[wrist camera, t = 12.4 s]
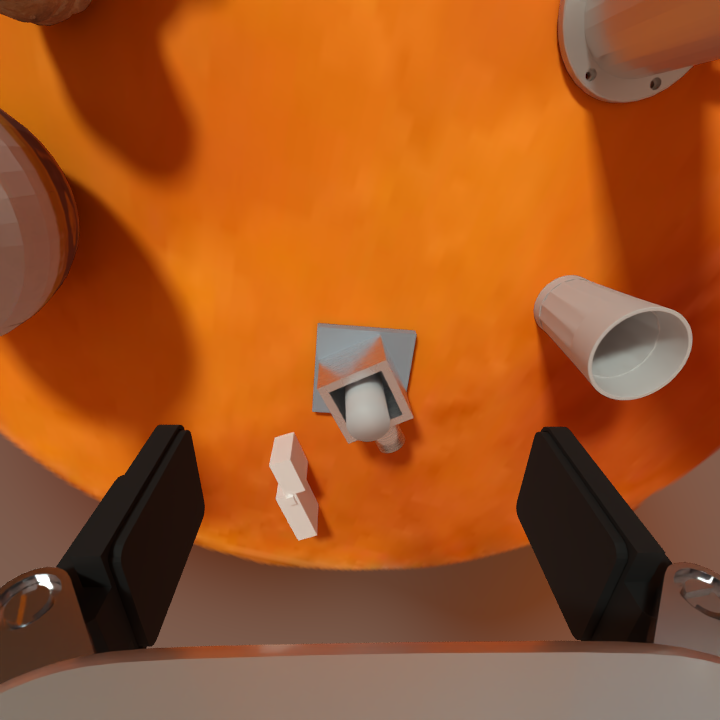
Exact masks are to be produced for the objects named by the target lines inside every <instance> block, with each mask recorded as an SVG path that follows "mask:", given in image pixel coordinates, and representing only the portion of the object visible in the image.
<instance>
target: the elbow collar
mask: <svg viewBox="0 0 720 720" xmlns="http://www.w3.org/2000/svg"><path fill="white" fill-rule="evenodd" d="M379 371H382V373H383V375H384V377H385V379H386V381H387V383H388V385H389V386H387V387H385V388H384V393H385V398H386V403H387V408H388V413H389V418H390V427H389V430H388V431H387V433H386V434H385V435H384V436H383V437H381V438H380V439H378V440H375V443H376V445H377V446H378V448H379V450H380V451H381V452H382V453H392V452H395V451H397V450H398V449H400V448H401V447H402V446H403V444H404V443H405V436H404V434H403V432H402V430H401V428H400V426H399V424H400V423H402V422H405V421H407V420H410V419H412V418H414V417H413V414H412V411H411V407H410V404H409V400H408V397H407V393H406V390H405V387H404V384H403V382H402V380H401V378H400V376H399V374H398V371H397V369H396V367H395V365H394V363H393V361H392V359H391V356H390V354H389V352H388V350H387V348H386V346H385V343H384V341H383V339H382V337H381V335H380V334H378V335H376V336H373V337H371V338H369V339H366V340H364V341H362V342H359V343H357V344H355V345H352V346H350V347H348V348H346V349H343V350H341V351H339V352H336V353H334V354H332V355H329V356H327V357H325V358H322V359H320V360H319V370H318V383H317V390H318V392H319V393H320V395H321V397H322V399H323V400H324V402H325V404H326V406H327V407H328V409H329V411H330V412H331V414H332V416H333V418H334V419H335V421H336V423H337V425H338V426H339V428H340V430H341V431H342V433H343V435H344V437H345V438H346V440H347V442H348V444H349V443H352V442H354V441H357V439H355V438H354V437H352V436H351V435H350V434H349V432H348V430H347V427H346V405H345V390H344V388H343V387H344V386H346V385H348V384H351V383H353V382H356V381H358V380H360V379H363V378H365V377H368V376H370V375H372V374H375V373H377V372H379Z"/></svg>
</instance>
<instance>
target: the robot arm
mask: <svg viewBox="0 0 720 720" xmlns="http://www.w3.org/2000/svg"><path fill="white" fill-rule="evenodd" d="M558 41H559V46H560V51H561V56H562V59H563V62H564V64H565V67H566V69H567V72H568V73H569V75H570V76H571V78H572V79H573V81H574V82H575V84H576V85H577V86H579V87H580V88H581V89H582V90H583V91H584V92H585V93H586V94H588V95H590V96H592V97H594V98H595V99H597V100H601V101H605V102H609V103H627V102H633V101H639V100H642V99H645V98H648V97H651V96H654V95H656V94H657V93H659V92H661V91H663V90H665V89H667V88H668V87H670V86H671V85H672V84H674V83H675V82H676V81H678V80H679V79H680V78H682V77H683V76H684V75H685V74H686V73H687V72H688V71H689V70H690V69H691V68H692V67H693V66H694V65H697V64H701V63H705V62H709V61H713V60H717V59H720V0H561V1H560V8H559V16H558ZM586 73H587V75H588V77H587V79H586V78H585V77H586ZM650 83H651V86H650ZM516 509H517V515H518V518H519V520H520V522H521V524H522V527H523V529H524V531H525V533H526V535H527V537H528V540H529V542H530V544H531V546H532V548H533V550H534V553H535V555H536V557H537V559H538V561H539V564H540V566H541V568H542V570H543V572H544V574H545V577H546V579H547V581H548V583H549V585H550V587H551V590H552V592H553V594H554V596H555V598H556V600H557V603H558V605H559V607H560V609H561V611H562V613H563V616H564V618H565V620H566V622H567V624H568V627H569V629H570V630H571V633H572V635H573V636H574V637H575V639H577V640H581V641H491V642H490V641H486V642H485V641H484V642H403V643H402V642H401V643H336V644H288V645H287V644H284V645H239V646H238V645H236V646H200V647H174V648H150V649H146V647H147V646H152V645H154V643H155V642H156V640H157V637H158V635H159V632H160V629H161V627H162V624H163V621H164V619H165V616H166V614H167V611H168V608H169V606H170V603H171V601H172V598H173V595H174V593H175V590H176V587H177V585H178V582H179V580H180V577H181V574H182V572H183V569H184V567H185V564H186V561H187V558H188V556H189V553H190V551H191V548H192V546H193V543H194V540H195V538H196V535H197V532H198V530H199V527H200V525H201V522H202V519H203V516H204V510H205V505H204V499H203V493H202V488H201V483H200V478H199V473H198V467H197V462H196V457H195V452H194V446H193V441H192V436H191V432H190V431H189V430H184V427H183V426H182V425H158V426H157V427H156V428H155V430H154V431H153V433H152V434H151V436H150V437H149V439H148V440H147V442H146V443H145V445H144V446H143V448H142V449H141V451H140V452H139V454H138V455H137V457H136V458H135V460H134V461H133V463H132V464H131V466H130V467H129V469H128V470H127V472H126V473H125V475H122V476H120V477H118V478H117V479H116V481H115V482H114V483H113V485H112V486H111V488H110V489H109V490H108V492H107V493H106V495H105V496H104V498H103V499H102V501H101V502H100V504H99V505H98V507H97V508H96V510H95V511H94V512H93V514H92V515H91V517H90V518H89V520H88V521H87V523H86V524H85V526H84V527H83V528H82V530H81V531H80V533H79V534H78V536H77V537H76V539H75V540H74V542H73V543H72V545H71V546H70V547H69V549H68V550H67V552H66V554H65V555H64V556H63V558H62V559H61V561H60V562H59V564H58V565H57V566H56V567H43V568H38V569H34V570H31V571H28V572H26V573H23V574H21V575H19V576H17V577H15V578H14V579H12V580H10V581H9V582H7V583H6V584H5V585H3V586H2V587H1V588H0V720H720V575H719V574H717V573H715V572H713V571H712V570H710V569H708V568H705V567H702V566H700V565H697V564H693V563H687V562H679V563H674V564H672V562H671V561H670V560H669V559H668V557H667V556H666V555H665V552H664V550H663V549H662V548H661V547H660V545H659V544H658V543H657V541H656V540H655V539H654V537H652V535H651V534H650V532H649V531H648V530H647V528H646V527H645V526H644V525H643V523H642V522H641V521H640V520H639V519H638V517H637V516H636V514H635V513H634V512H633V511H632V509H631V508H630V507H629V505H628V504H627V503H626V502H625V500H624V499H623V498H622V496H621V495H620V494H619V493H618V491H617V490H616V489H615V487H614V486H613V485H612V484H611V482H610V481H609V480H608V478H607V477H606V476H605V475H604V473H603V472H602V471H601V469H600V468H599V467H598V466H597V464H596V463H595V462H594V461H593V459H592V458H591V457H590V455H589V454H588V453H587V452H586V450H585V449H584V448H583V446H582V445H581V444H580V443H579V441H578V440H577V439H576V437H575V436H574V435H573V434H572V432H571V431H570V430H569V429H568V428H567V427H543V429H542V430H541V432H537V433H536V434H535V437H534V440H533V444H532V448H531V452H530V455H529V459H528V463H527V466H526V470H525V474H524V478H523V481H522V485H521V489H520V493H519V496H518V500H517V505H516Z"/></svg>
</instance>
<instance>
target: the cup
mask: <svg viewBox="0 0 720 720" xmlns="http://www.w3.org/2000/svg"><path fill="white" fill-rule="evenodd" d="M534 317H535V320H536V322H537V324H538V326H539V327H540V328H541V329H543V330H544V331H545V332H546V333H547V334H548V335H549V336H550V337H551V339H552V340H553V341H554V342H555V343H556V344H557V345H558V346H559V348H560V349H561V350H562V351H563V352H564V353H565V354H566V355H567V357H568V358H569V359H570V360H571V361H572V362H573V363H574V364H575V365H576V367H577V368H578V369H579V370H580V372H581V373H582V374H583V375H584V376H585V377H586V379H587V380H588V381H589V382H590V383H591V384H592V386H593V387H594V388H595V389H596V390H597V391H598V392H599V393H600V394H602V395H604V396H606V397H608V398H611V399H616V400H633V399H638V398H641V397H645V396H647V395H650V394H652V393H654V392H656V391H658V390H659V389H661V388H662V387H664V386H665V385H667V384H668V383H669V382H670V381H671V380H672V379H673V378H674V377H675V376H676V375H677V374H678V373H679V372H680V371H681V369H682V368H683V366H684V365H685V363H686V361H687V359H688V357H689V354H690V351H691V348H692V331H691V328H690V325H689V323H688V322H687V320H686V319H685V318H684V317H683V316H682V315H681V314H680V313H678V312H676V311H674V310H672V309H669V308H666V307H663V306H660V305H657V304H654V303H651V302H648V301H645V300H642V299H639V298H636V297H633V296H630V295H627V294H624V293H622V292H619V291H616V290H613V289H610V288H608V287H605V286H602V285H599V284H596V283H594V282H591V281H589V280H587V279H585V278H583V277H580V276H575V275H568V276H563V277H560V278H557V279H555V280H553V281H552V282H550V283H549V284H548V285H547V286H545V287H544V289H543V290H542V291H541V292H540V294H539V295H538V297H537V299H536V302H535V305H534Z"/></svg>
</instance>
